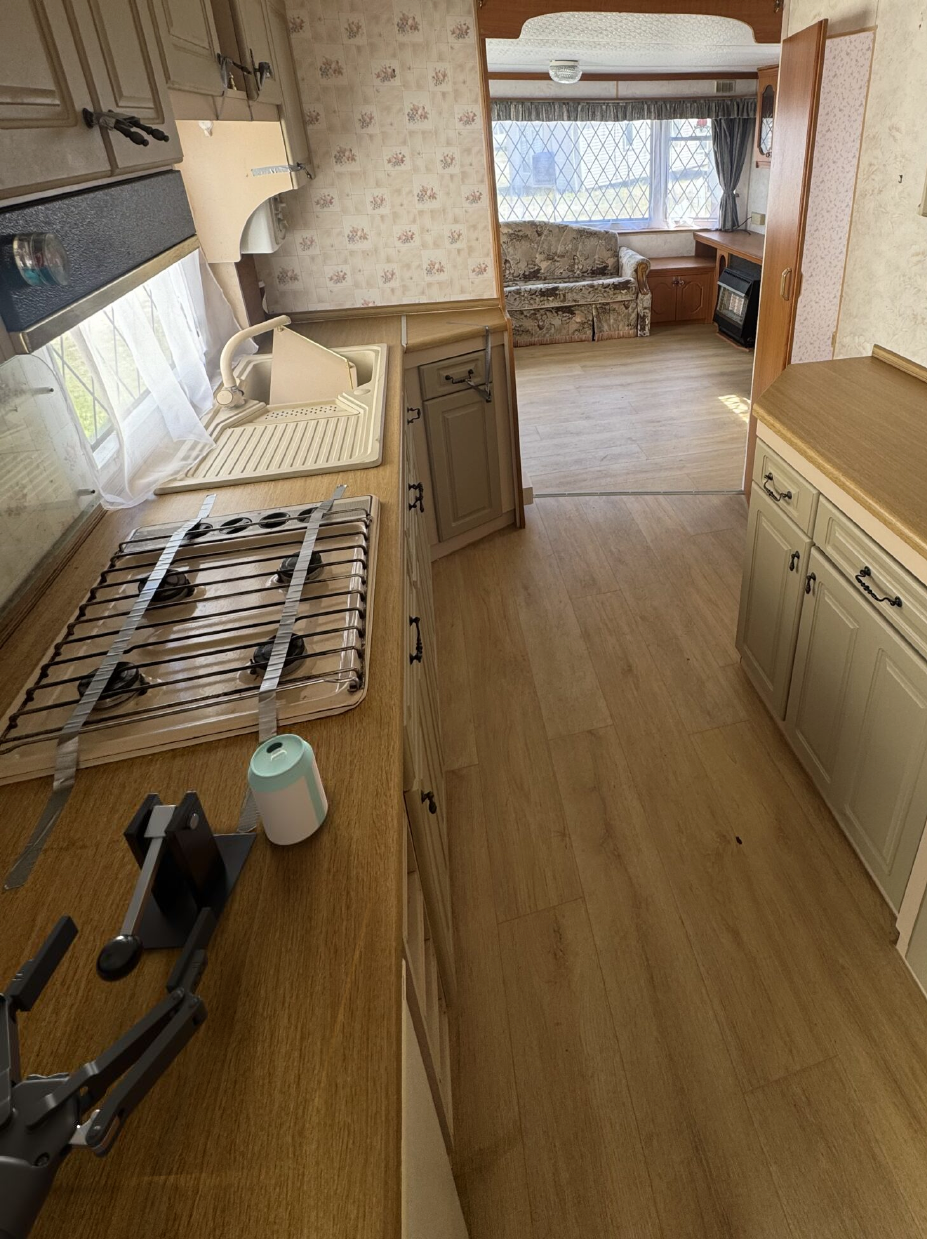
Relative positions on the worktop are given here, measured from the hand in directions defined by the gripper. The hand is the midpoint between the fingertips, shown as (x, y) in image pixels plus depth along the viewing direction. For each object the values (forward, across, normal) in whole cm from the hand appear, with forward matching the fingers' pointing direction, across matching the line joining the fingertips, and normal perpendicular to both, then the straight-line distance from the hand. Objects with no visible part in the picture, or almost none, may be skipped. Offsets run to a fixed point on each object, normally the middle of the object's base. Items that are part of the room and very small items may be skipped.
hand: (140, 918), depth 65 cm
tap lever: (+2, 0, +1) cm, 2 cm away
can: (+15, +8, -8) cm, 19 cm away
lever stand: (+7, 0, -7) cm, 10 cm away
